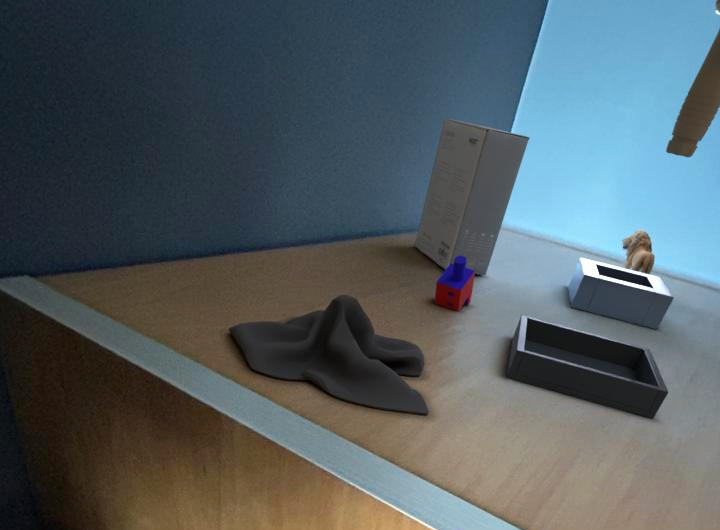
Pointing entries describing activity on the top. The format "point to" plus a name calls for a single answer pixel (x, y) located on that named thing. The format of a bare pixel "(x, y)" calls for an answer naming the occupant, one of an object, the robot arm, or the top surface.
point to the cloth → (337, 356)
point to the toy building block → (455, 285)
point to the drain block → (619, 293)
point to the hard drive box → (469, 193)
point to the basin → (586, 366)
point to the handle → (698, 104)
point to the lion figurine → (639, 252)
